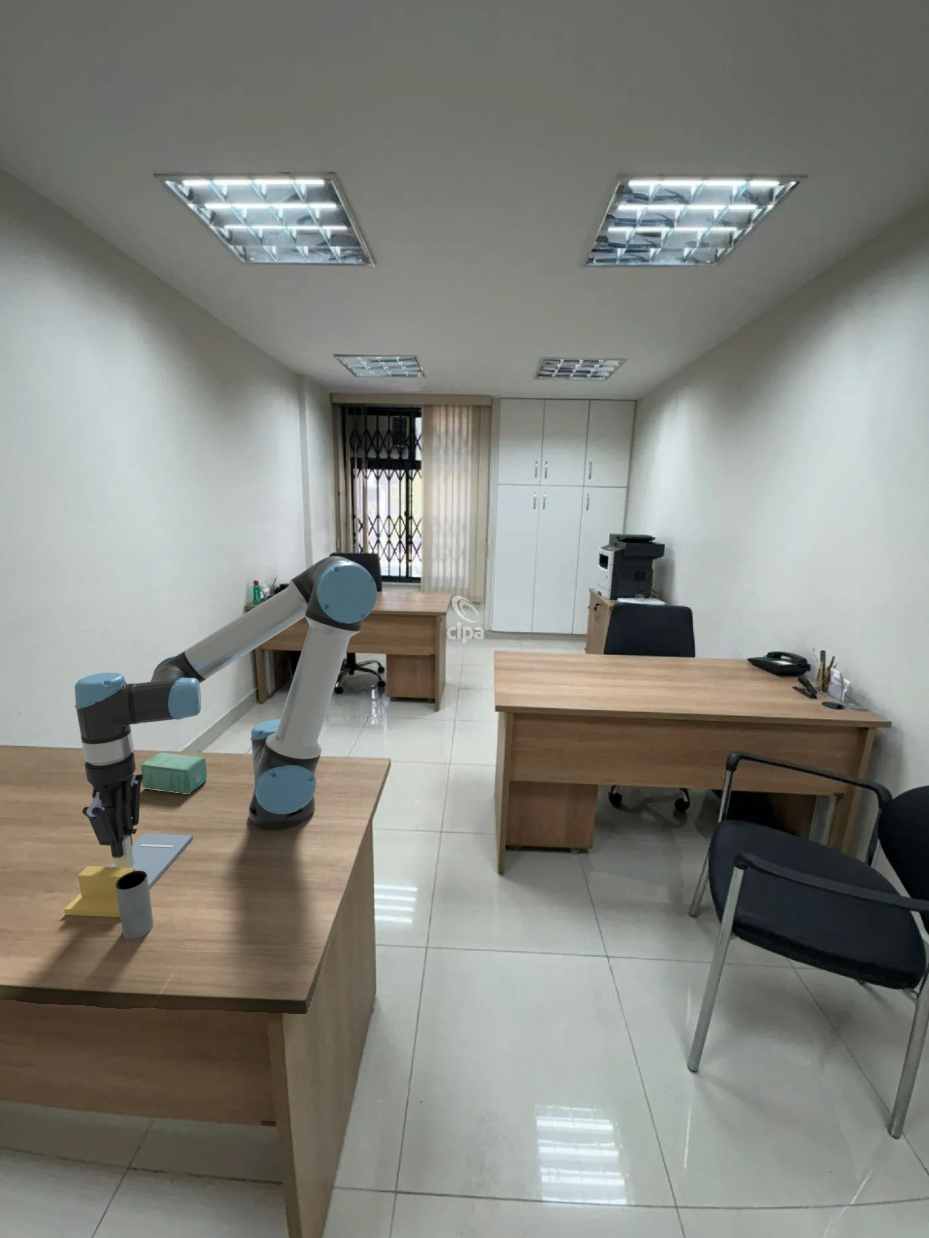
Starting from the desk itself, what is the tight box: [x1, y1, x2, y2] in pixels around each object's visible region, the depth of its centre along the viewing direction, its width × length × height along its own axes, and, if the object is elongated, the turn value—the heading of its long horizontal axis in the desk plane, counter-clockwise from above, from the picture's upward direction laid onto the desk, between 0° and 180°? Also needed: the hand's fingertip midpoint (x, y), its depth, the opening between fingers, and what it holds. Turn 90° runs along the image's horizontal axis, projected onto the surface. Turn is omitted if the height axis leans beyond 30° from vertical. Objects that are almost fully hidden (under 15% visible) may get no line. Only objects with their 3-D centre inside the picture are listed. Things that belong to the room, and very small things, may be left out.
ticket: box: [109, 833, 194, 890], centre depth 104 cm, size 11×16×1 cm
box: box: [140, 752, 208, 794], centre depth 132 cm, size 7×14×8 cm, turn 82°
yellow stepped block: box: [63, 865, 135, 918], centre depth 93 cm, size 11×6×6 cm, turn 88°
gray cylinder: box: [116, 871, 154, 941], centre depth 87 cm, size 4×4×10 cm
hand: (124, 866), depth 98 cm, fingers closed
